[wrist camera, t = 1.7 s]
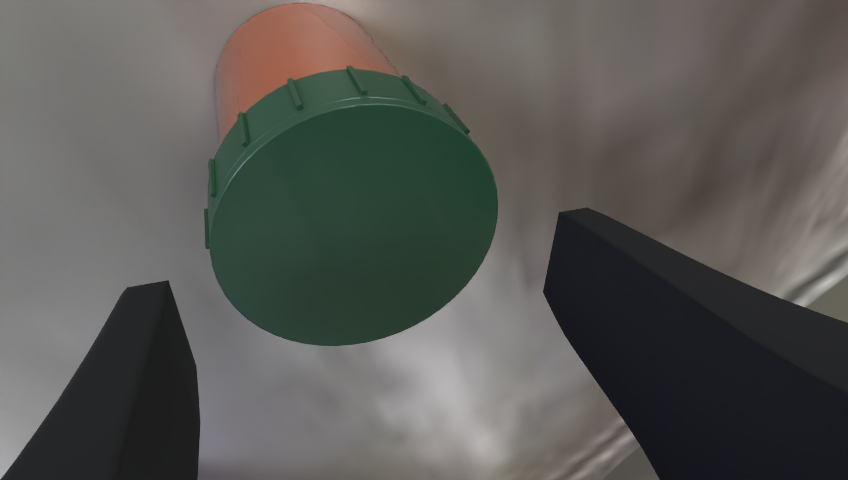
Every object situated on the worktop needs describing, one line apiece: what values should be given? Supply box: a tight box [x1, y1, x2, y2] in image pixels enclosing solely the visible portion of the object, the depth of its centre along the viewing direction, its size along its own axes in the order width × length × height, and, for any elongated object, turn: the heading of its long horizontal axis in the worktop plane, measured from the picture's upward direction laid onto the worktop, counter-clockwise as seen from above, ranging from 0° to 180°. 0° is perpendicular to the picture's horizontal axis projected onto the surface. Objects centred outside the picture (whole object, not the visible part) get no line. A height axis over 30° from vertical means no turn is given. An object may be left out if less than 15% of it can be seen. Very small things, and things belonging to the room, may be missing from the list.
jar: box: [215, 3, 402, 147], centre depth 15 cm, size 5×5×8 cm
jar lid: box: [204, 66, 498, 346], centre depth 12 cm, size 6×6×2 cm
